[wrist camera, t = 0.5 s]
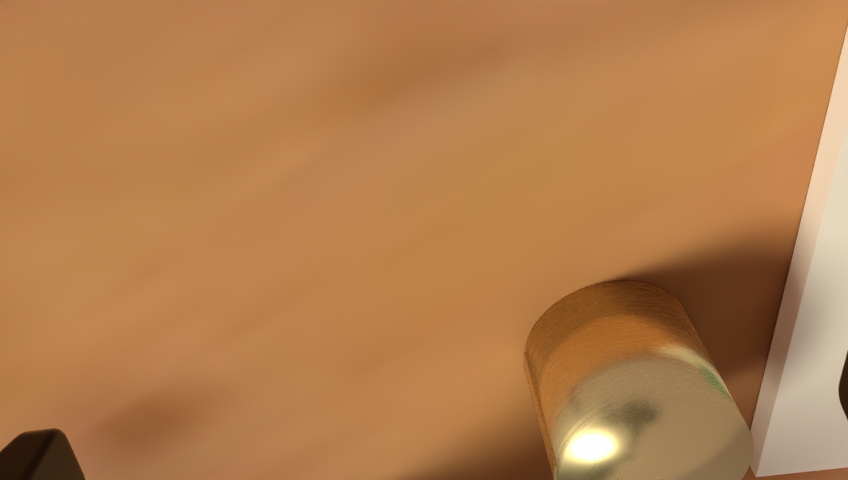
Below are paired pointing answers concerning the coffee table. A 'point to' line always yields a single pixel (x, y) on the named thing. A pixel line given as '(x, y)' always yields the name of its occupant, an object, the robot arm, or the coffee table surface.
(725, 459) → the cap
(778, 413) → the neck block
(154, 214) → the coffee table surface
